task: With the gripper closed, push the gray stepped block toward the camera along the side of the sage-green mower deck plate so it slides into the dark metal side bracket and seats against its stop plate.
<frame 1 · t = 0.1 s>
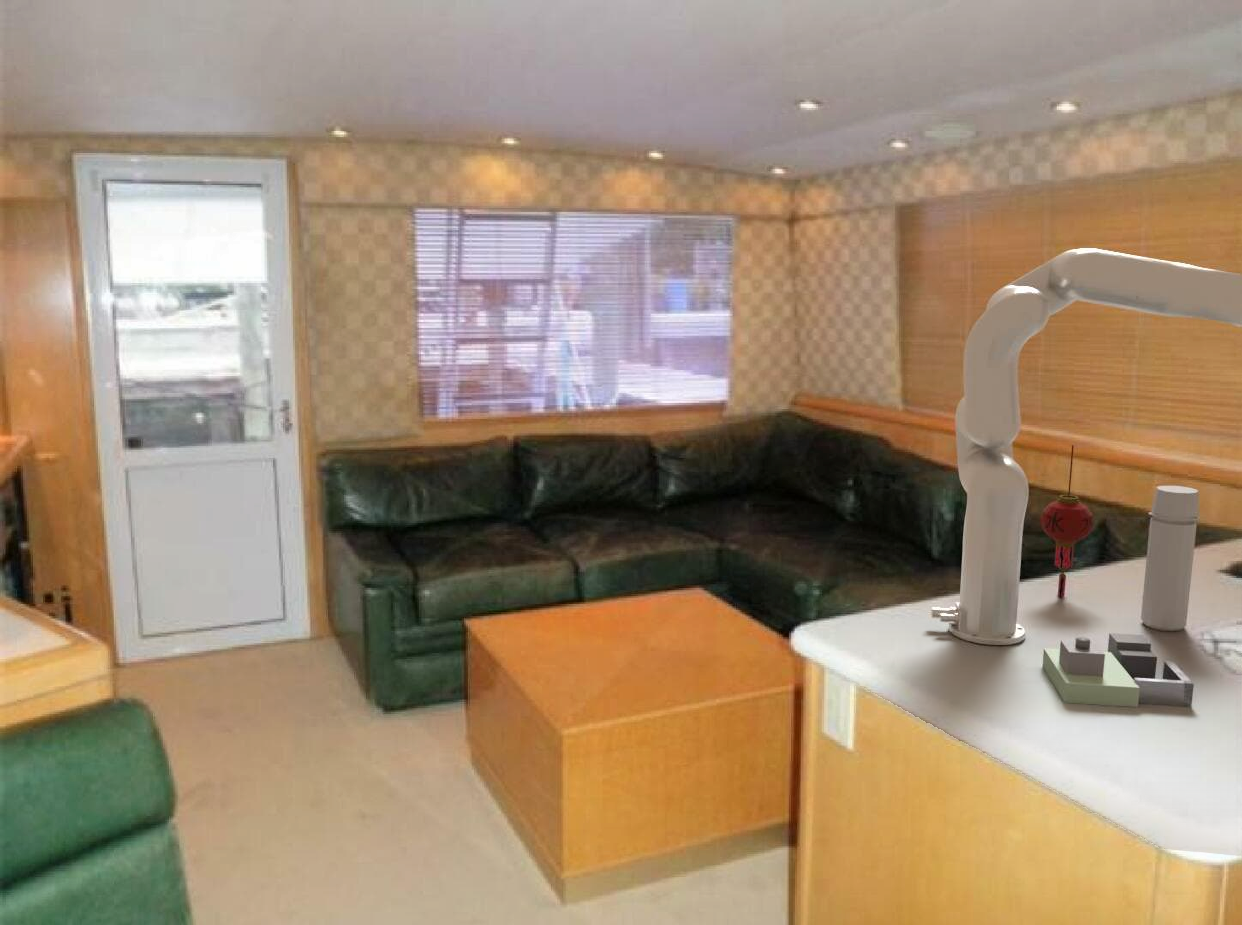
lantern: (1060, 597, 194), on the counter
side bracket: (1148, 692, 149), on the counter
water bottle: (1163, 625, 178), on the counter
gray stepped block: (1130, 671, 157), on the counter
deck: (1087, 685, 151), on the counter
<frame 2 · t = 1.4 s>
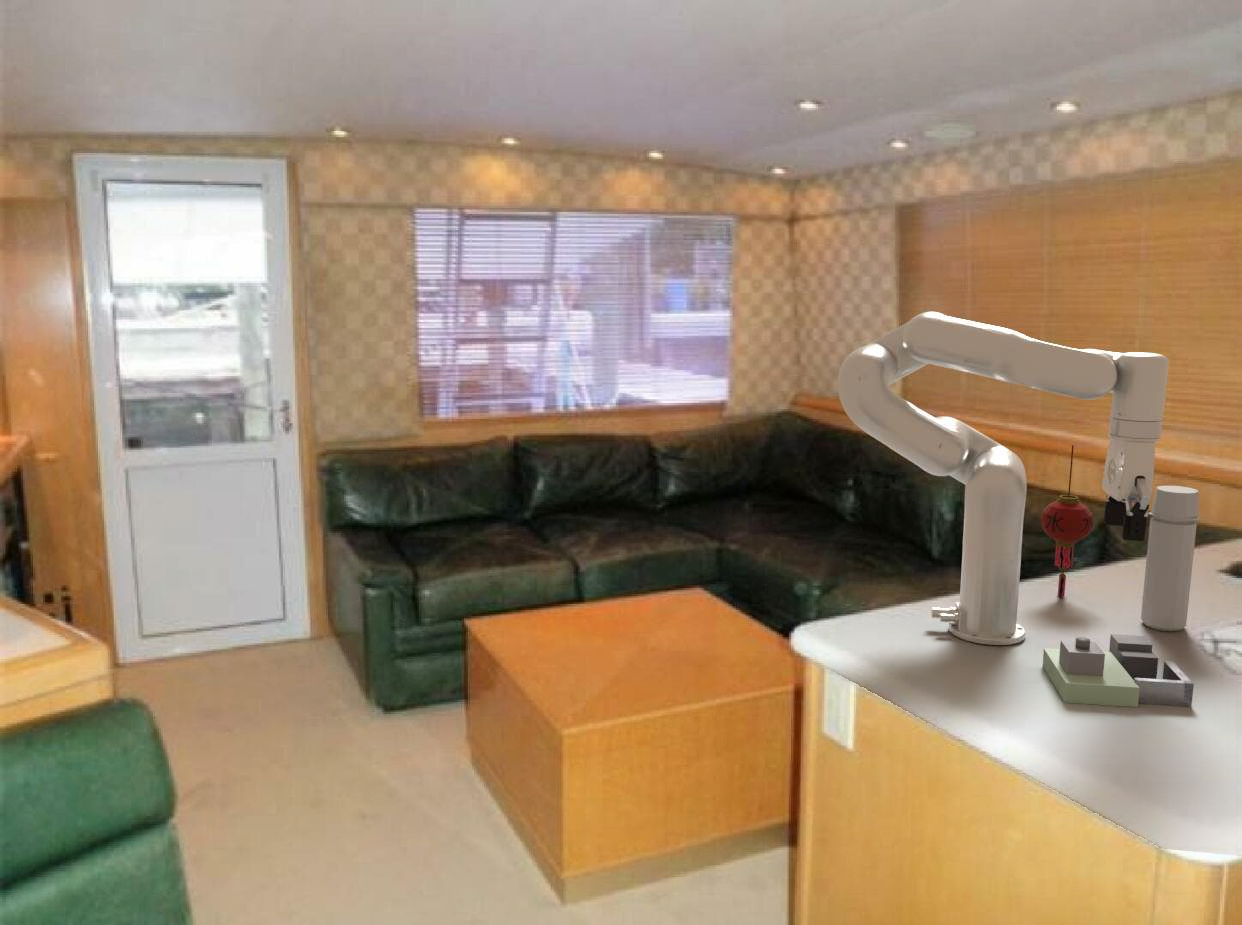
hand: (1123, 532, 163), 20 cm above the counter, fingers open, 9 cm apart
nothing on the counter moved.
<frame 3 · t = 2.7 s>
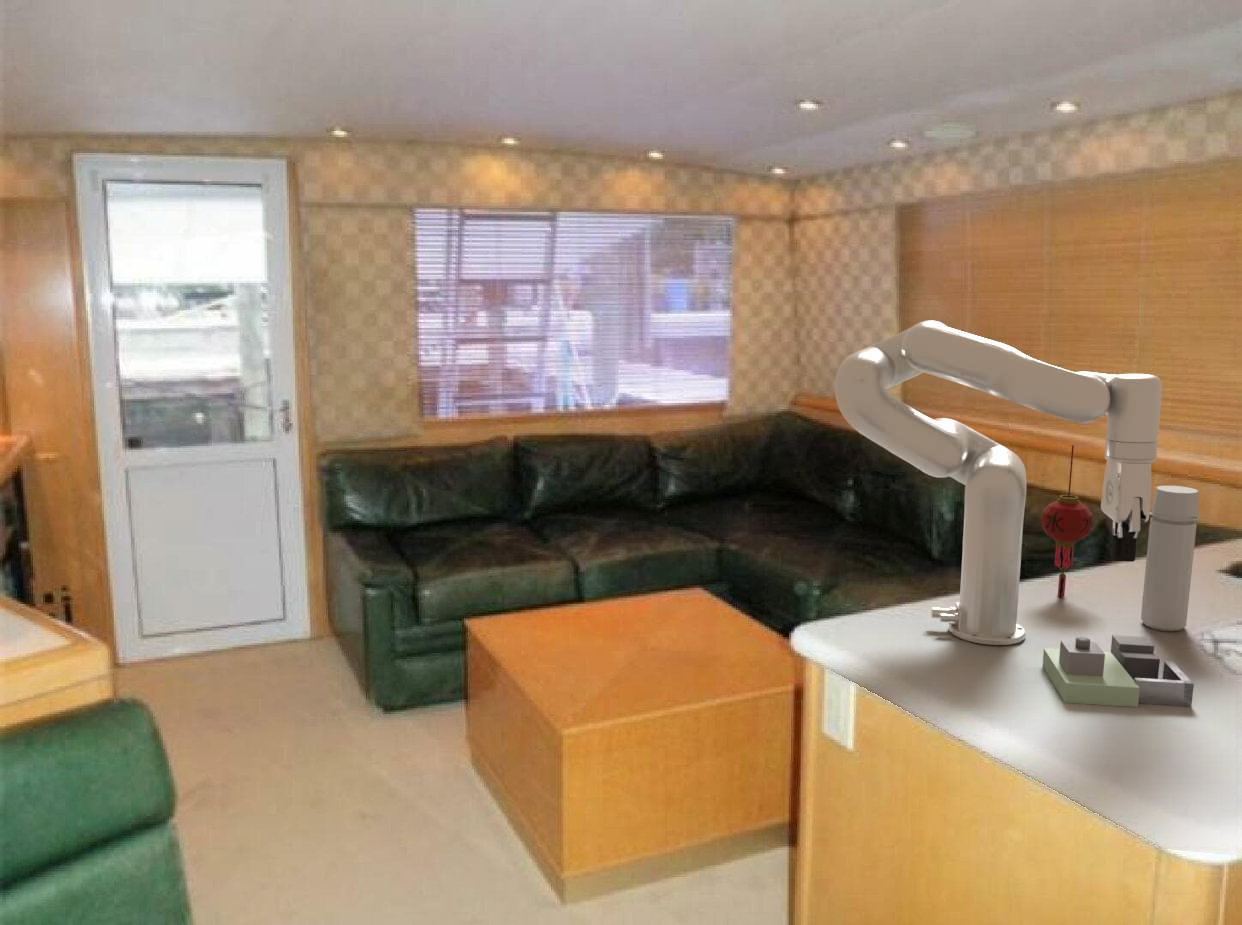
hand: (1122, 559, 163), 16 cm above the counter, fingers closed
nothing on the counter moved.
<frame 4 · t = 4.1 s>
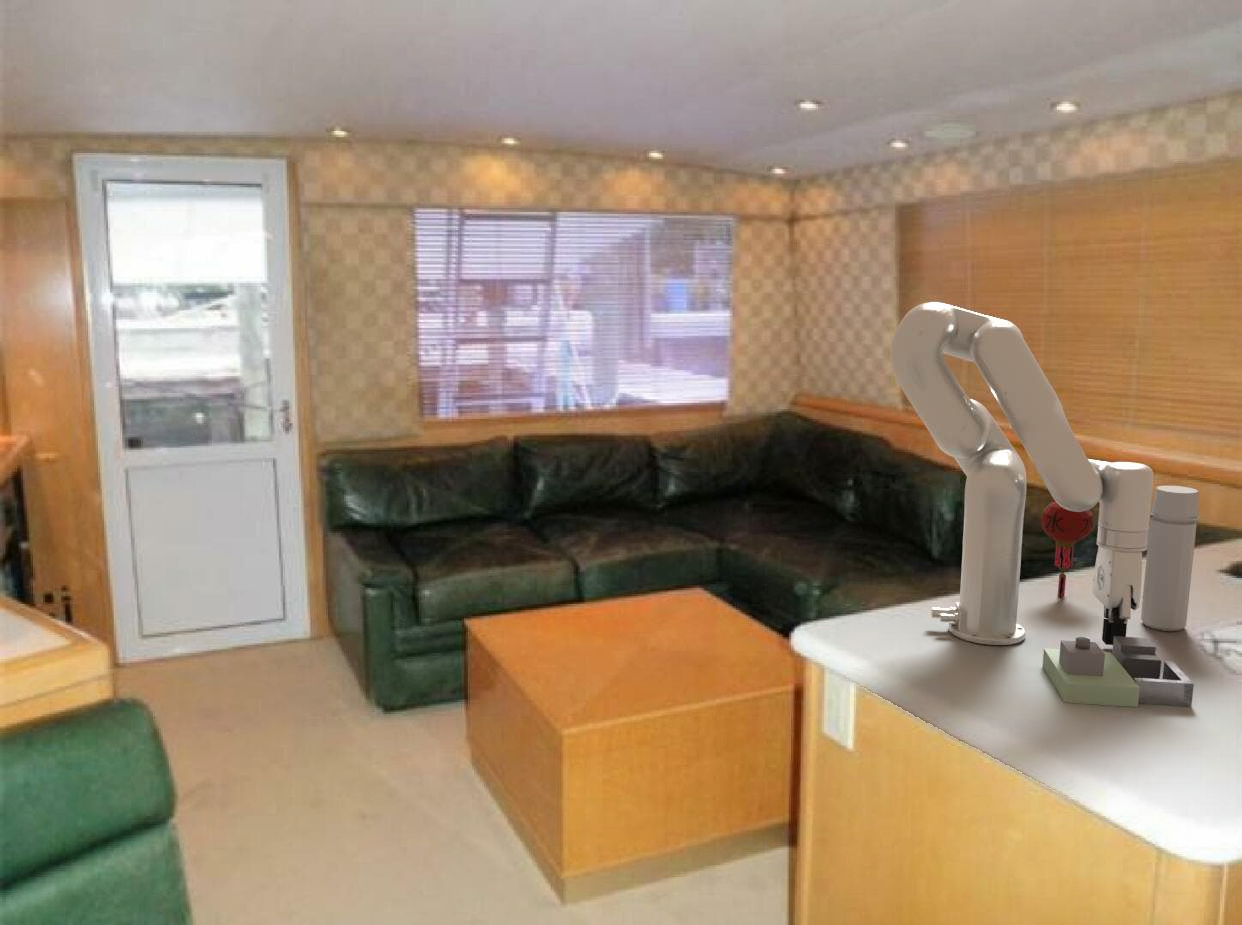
hand: (1113, 643, 166), 1 cm above the counter, fingers closed
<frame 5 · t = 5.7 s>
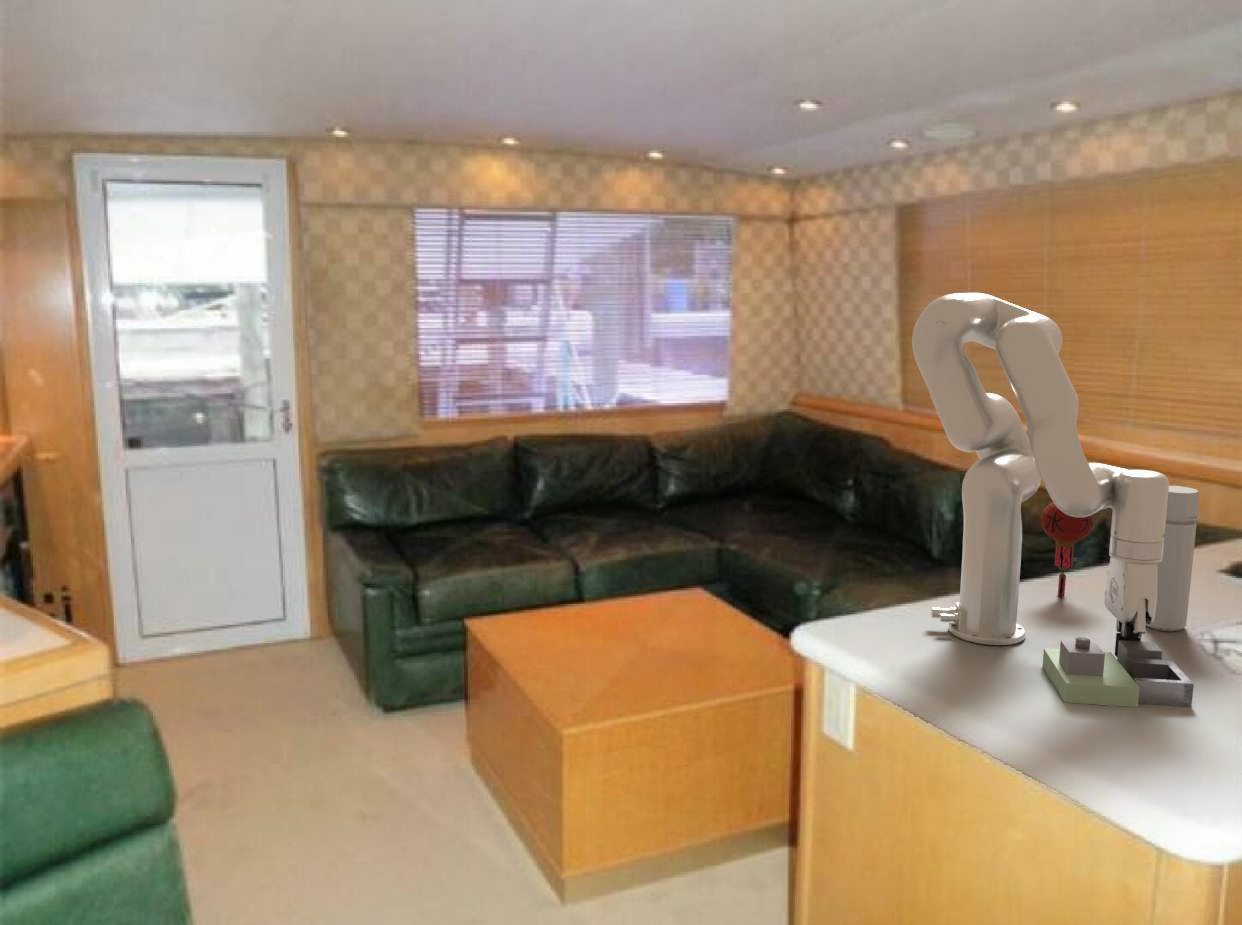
hand: (1126, 658, 159), 1 cm above the counter, fingers closed
gray stepped block: (1140, 679, 154), on the counter, touching gripper
everything else where it was.
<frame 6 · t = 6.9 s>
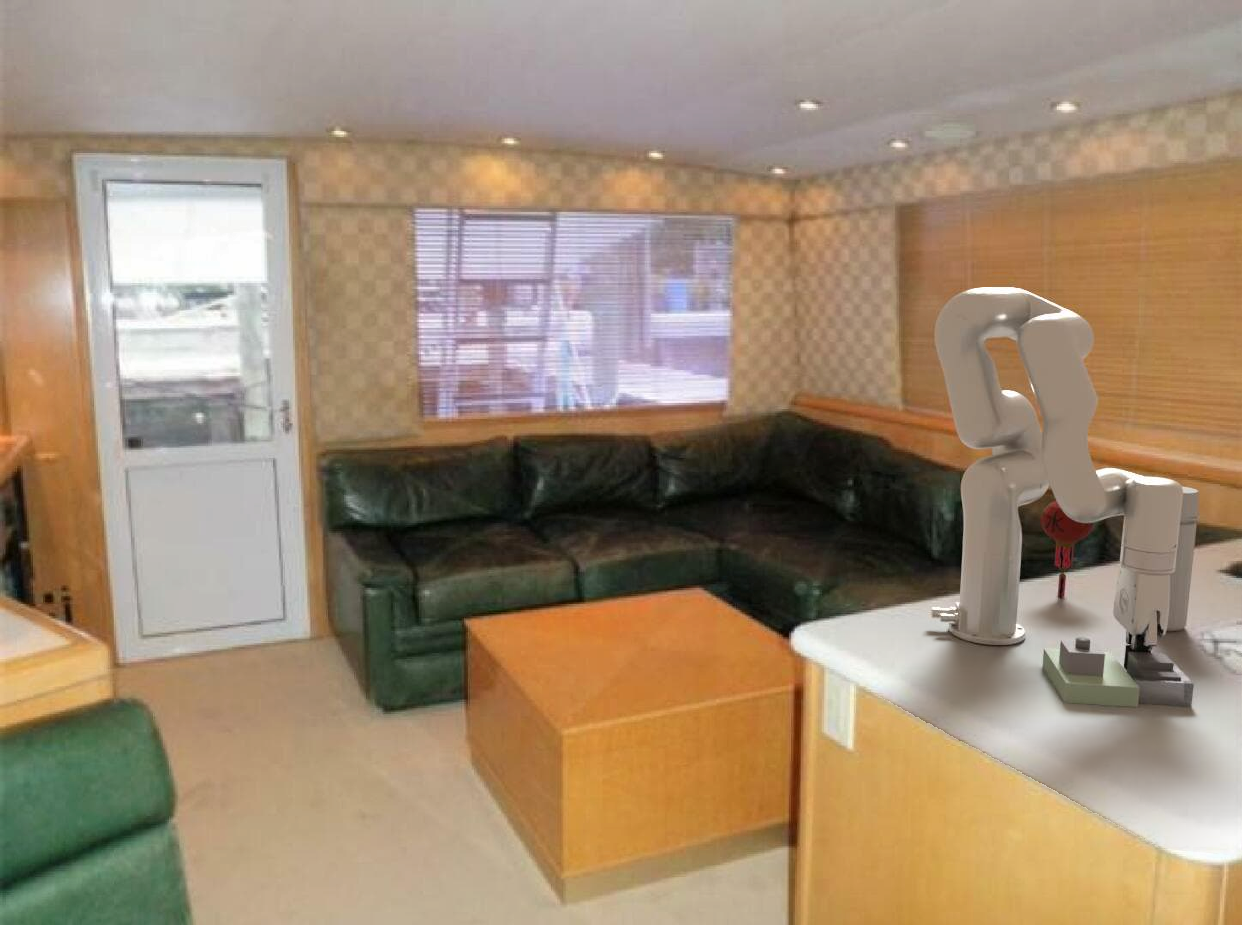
hand: (1136, 671, 154), 1 cm above the counter, fingers closed
gray stepped block: (1151, 692, 149), on the counter, touching gripper, side bracket
everything else where it was.
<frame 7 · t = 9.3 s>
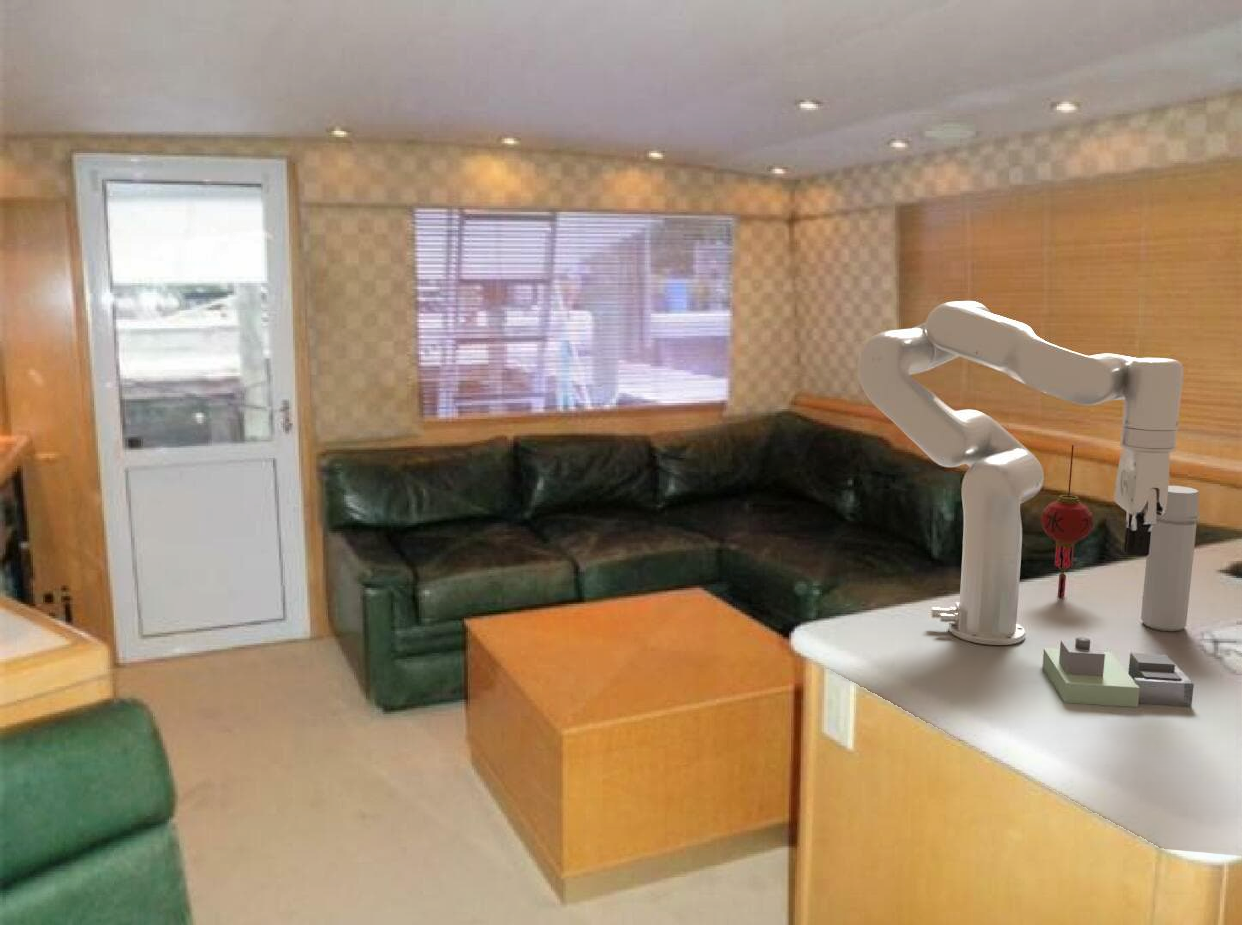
hand: (1136, 553, 155), 19 cm above the counter, fingers closed
gray stepped block: (1152, 693, 149), on the counter
everything else where it was.
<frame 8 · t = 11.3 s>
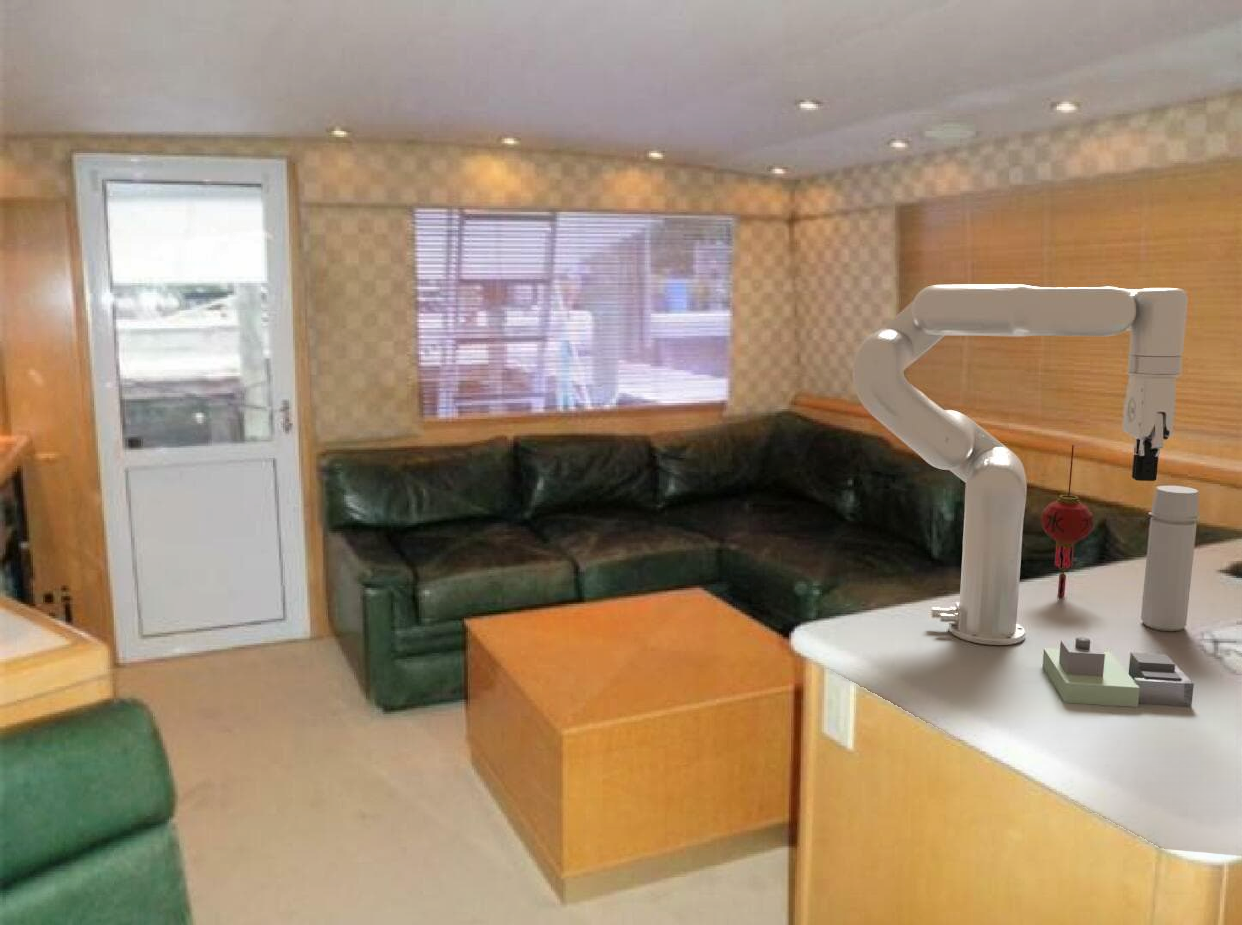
hand: (1143, 479, 160), 29 cm above the counter, fingers closed
nothing on the counter moved.
at the end: gray stepped block 0.8 cm from the target spot, on the counter; gray stepped block tilted 0° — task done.
